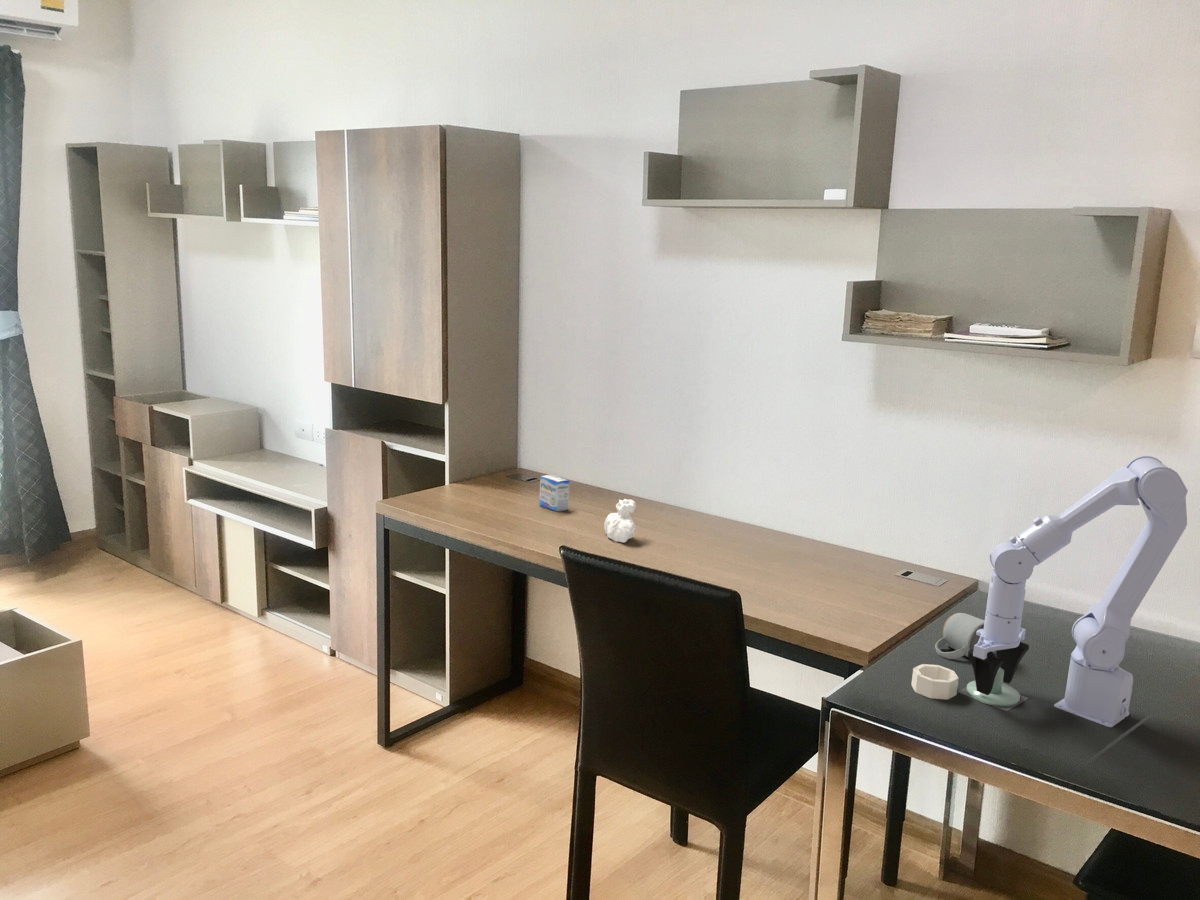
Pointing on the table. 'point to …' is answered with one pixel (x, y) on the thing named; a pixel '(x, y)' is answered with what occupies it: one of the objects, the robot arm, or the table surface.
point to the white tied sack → (621, 522)
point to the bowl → (934, 681)
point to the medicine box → (554, 493)
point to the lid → (995, 692)
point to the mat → (993, 705)
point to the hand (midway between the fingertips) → (993, 686)
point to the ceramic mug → (959, 635)
